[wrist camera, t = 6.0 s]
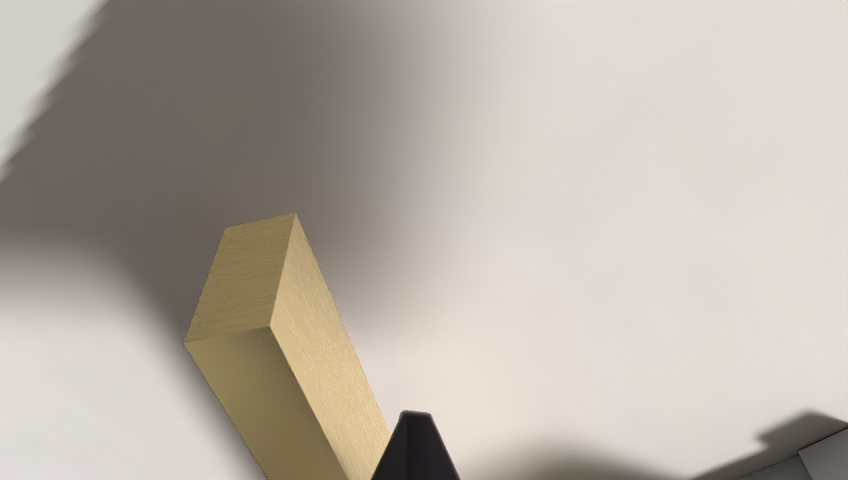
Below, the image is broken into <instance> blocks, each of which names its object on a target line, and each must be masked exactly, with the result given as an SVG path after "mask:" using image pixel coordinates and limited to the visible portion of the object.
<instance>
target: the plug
mask: <svg viewBox="0 0 848 480" xmlns="http://www.w3.org/2000/svg"><path fill="white" fill-rule="evenodd" d="M736 480H813V479H812V477H811V475H810V473H809V471H808V469H807V467H806V466H805V464H804V462H803V460H802V458H801V456H800V455H799V456H797V457H794V458H791V459H789V460H786V461H783V462H781V463H778V464H775V465H773V466H770V467H767V468H765V469H762V470H760V471H757V472H754V473H752V474H749V475H746V476H744V477H741V478H738V479H736Z"/></svg>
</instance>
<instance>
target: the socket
mask: <svg viewBox="0 0 848 480" xmlns="http://www.w3.org/2000/svg"><path fill="white" fill-rule="evenodd" d="M798 453H799V455H800V456H801V458H802V460H803V462H804V464H805V466H806V467H807V469H808V471H809V473H810V475H811V477H812V479H813V480H848V428H847V429H845V430H843V431H841V432H839V433H837V434H834V435H832V436H830V437H828V438H826V439H824V440H822V441H819V442H817V443H815V444H813V445H811V446H809V447H806V448H804V449H802V450H800V451H798Z"/></svg>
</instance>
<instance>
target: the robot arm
mask: <svg viewBox="0 0 848 480" xmlns="http://www.w3.org/2000/svg"><path fill="white" fill-rule="evenodd" d="M370 480H460V477H459V475H458V473H457V471H456V469H455V467H454V464H453V462H452V460H451V458H450V456H449V453H448V451H447V449H446V447H445V445H444V443H443V440H442V438H441V436H440V434H439V432H438V429H437V427H436V425H435V423H434V421H433V418H432V416H431V414H429V413H426V412H417V411H408V410H405V411H402V412H401V413H400V416H399V421H398V423H397V425H396V427H395V430H394V432H393V434H392V436H391V438H390V440H389V442H388V444H387V446H386V448H385V450H384V452H383V455H382V457H381V459H380V461H379V463H378V465H377V467H376V469H375V471H374V473H373V475H372V477H371V479H370Z"/></svg>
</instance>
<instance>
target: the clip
mask: <svg viewBox="0 0 848 480" xmlns="http://www.w3.org/2000/svg"><path fill="white" fill-rule="evenodd" d="M183 344H184V345H185V347H186V349H187V350H188V352H189V353H190V355H191V357H192V358H193V360H194V361H195V363H196V365H197V366H198V368H199V369H200V371H201V373H202V374H203V376H204V378H205V379H206V381H207V382H208V384H209V386H210V387H211V389H212V390H213V392H214V394H215V395H216V397H217V398H218V400H219V402H220V403H221V405H222V406H223V408H224V410H225V411H226V413H227V414H228V416H229V418H230V419H231V421H232V422H233V424H234V426H235V427H236V429H237V430H238V432H239V434H240V435H241V437H242V438H243V440H244V442H245V443H246V445H247V446H248V448H249V450H250V451H251V453H252V455H253V456H254V458H255V459H256V461H257V463H258V464H259V466H260V467H261V469H262V471H263V472H264V474H265V475H266V477H267V479H268V480H370V479H371V477H372V475H373V473H374V471H375V469H376V467H377V465H378V463H379V461H380V459H381V457H382V455H383V452H384V450H385V448H386V446H387V444H388V442H389V440H390V438H391V435H390V433H389V430H388V428H387V426H386V423H385V421H384V418H383V416H382V414H381V411H380V409H379V407H378V404H377V402H376V400H375V397H374V395H373V393H372V390H371V388H370V386H369V383H368V381H367V379H366V376H365V374H364V372H363V369H362V367H361V365H360V362H359V360H358V357H357V355H356V353H355V350H354V348H353V346H352V343H351V341H350V339H349V336H348V334H347V332H346V329H345V327H344V325H343V322H342V320H341V318H340V315H339V313H338V311H337V308H336V306H335V303H334V301H333V299H332V296H331V294H330V292H329V289H328V287H327V285H326V282H325V280H324V278H323V275H322V273H321V271H320V268H319V266H318V264H317V261H316V259H315V257H314V254H313V252H312V249H311V247H310V245H309V242H308V240H307V238H306V235H305V233H304V231H303V228H302V226H301V224H300V221H299V219H298V217H297V214H296V212H295V213H290V214H286V215H281V216H277V217H272V218H268V219H263V220H258V221H254V222H249V223H245V224H240V225H236V226H231V227H227V228H225V230H224V232H223V235H222V238H221V241H220V243H219V246H218V249H217V252H216V255H215V257H214V260H213V263H212V266H211V268H210V271H209V274H208V277H207V279H206V282H205V285H204V288H203V290H202V293H201V296H200V299H199V301H198V304H197V307H196V310H195V312H194V315H193V318H192V321H191V323H190V326H189V329H188V332H187V335H186V337H185V340H184V343H183Z"/></svg>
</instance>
